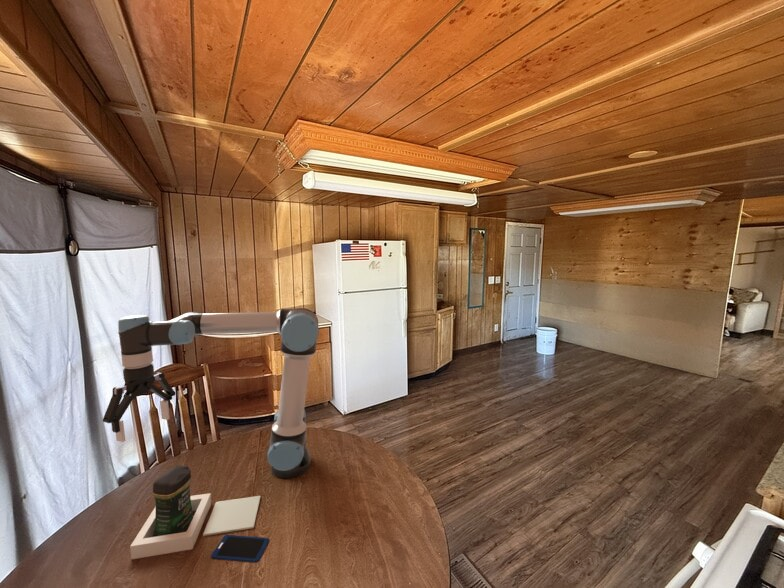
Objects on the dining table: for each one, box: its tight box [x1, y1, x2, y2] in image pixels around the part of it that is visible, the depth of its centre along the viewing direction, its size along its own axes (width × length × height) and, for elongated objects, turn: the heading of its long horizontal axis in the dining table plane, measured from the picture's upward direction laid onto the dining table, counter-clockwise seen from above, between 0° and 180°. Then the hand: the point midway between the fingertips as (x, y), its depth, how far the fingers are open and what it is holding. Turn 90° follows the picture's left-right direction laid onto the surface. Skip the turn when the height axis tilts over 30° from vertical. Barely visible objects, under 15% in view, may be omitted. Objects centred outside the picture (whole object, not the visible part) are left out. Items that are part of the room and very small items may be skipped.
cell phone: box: [210, 534, 270, 563], centre depth 92 cm, size 7×14×1 cm, turn 86°
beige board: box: [202, 495, 262, 537], centre depth 103 cm, size 14×13×1 cm
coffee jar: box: [152, 464, 194, 537], centre depth 97 cm, size 10×8×19 cm
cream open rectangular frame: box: [129, 492, 212, 560], centre depth 98 cm, size 15×17×4 cm
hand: (144, 429), depth 103 cm, fingers open, 13 cm apart
